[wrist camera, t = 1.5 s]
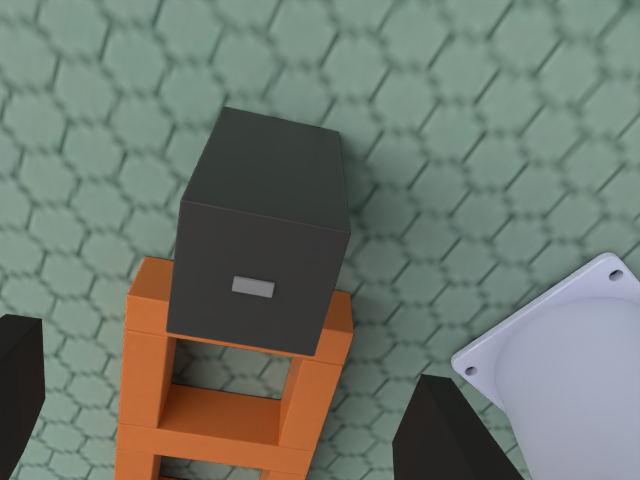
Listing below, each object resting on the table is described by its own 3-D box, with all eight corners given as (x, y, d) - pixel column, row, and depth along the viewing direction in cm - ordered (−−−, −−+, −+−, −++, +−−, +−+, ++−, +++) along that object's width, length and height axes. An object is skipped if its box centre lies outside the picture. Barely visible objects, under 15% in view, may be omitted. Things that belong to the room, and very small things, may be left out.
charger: (339, 131, 19) (352, 234, 13) (313, 229, 21) (314, 360, 15) (223, 105, 19) (179, 201, 12) (208, 209, 20) (163, 335, 14)
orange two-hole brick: (145, 255, 21) (126, 295, 19) (350, 292, 22) (354, 334, 20) (125, 491, 29) (109, 539, 27) (280, 510, 30) (278, 559, 28)
